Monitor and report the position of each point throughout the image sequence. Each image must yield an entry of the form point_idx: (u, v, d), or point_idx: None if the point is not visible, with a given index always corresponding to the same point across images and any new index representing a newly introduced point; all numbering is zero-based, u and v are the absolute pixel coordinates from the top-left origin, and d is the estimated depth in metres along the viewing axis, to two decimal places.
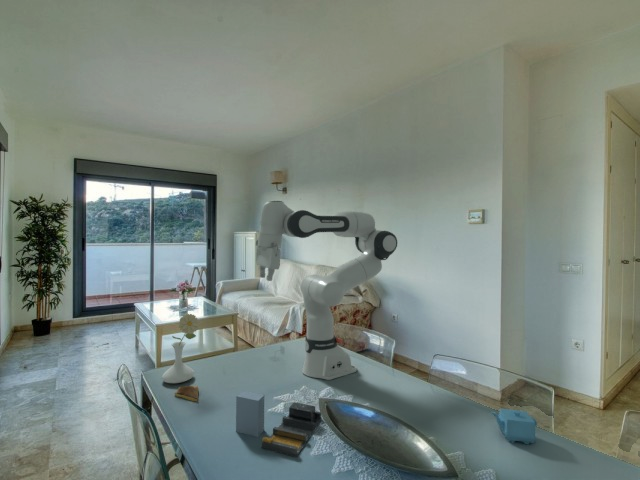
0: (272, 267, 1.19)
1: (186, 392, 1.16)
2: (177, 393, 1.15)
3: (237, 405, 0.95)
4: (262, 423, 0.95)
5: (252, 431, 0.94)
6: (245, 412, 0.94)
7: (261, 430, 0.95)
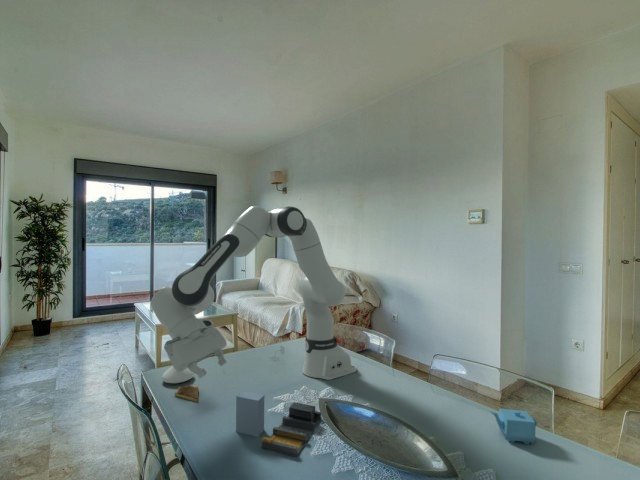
0: (178, 369, 0.92)
1: (186, 392, 1.16)
2: (177, 393, 1.15)
3: (237, 405, 0.95)
4: (262, 423, 0.95)
5: (252, 431, 0.94)
6: (245, 412, 0.94)
7: (261, 430, 0.95)
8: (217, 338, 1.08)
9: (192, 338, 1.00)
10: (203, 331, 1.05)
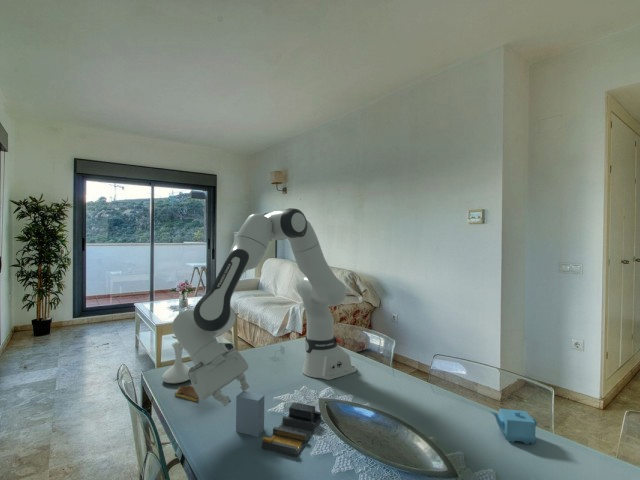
0: (202, 398, 0.89)
1: (186, 392, 1.16)
2: (177, 393, 1.15)
3: (237, 405, 0.95)
4: (262, 423, 0.95)
5: (252, 431, 0.94)
6: (245, 412, 0.94)
7: (261, 430, 0.95)
8: (239, 362, 1.05)
9: (215, 364, 0.97)
10: (225, 355, 1.02)
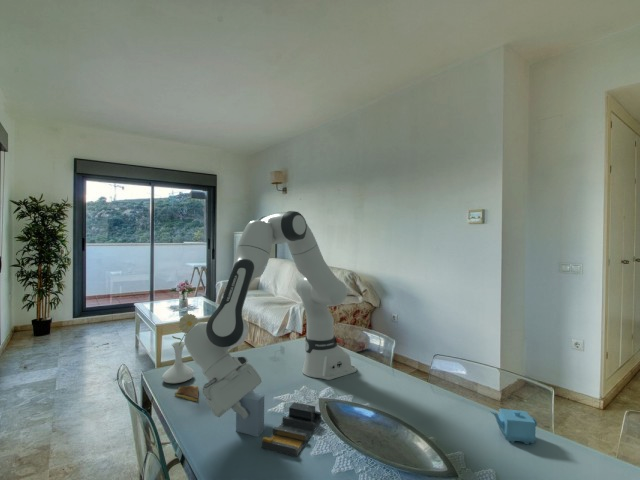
0: (217, 415, 0.88)
1: (186, 392, 1.16)
2: (177, 393, 1.16)
3: None
4: (262, 423, 0.95)
5: (252, 431, 0.94)
6: None
7: (261, 430, 0.95)
8: (252, 376, 1.04)
9: (229, 379, 0.95)
10: (238, 369, 1.01)
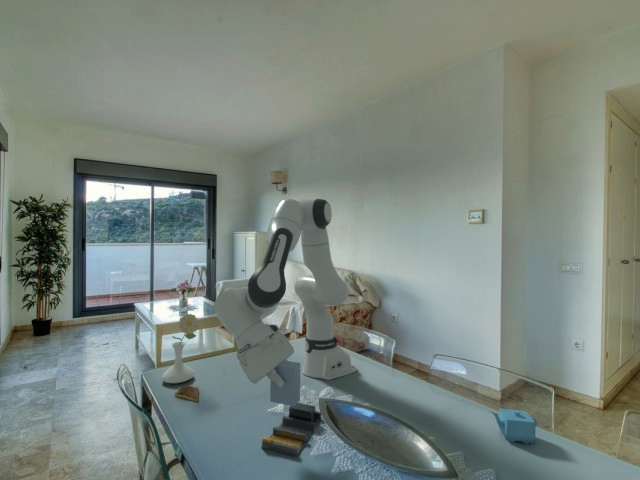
0: (254, 381, 0.81)
1: (186, 392, 1.16)
2: (177, 393, 1.16)
3: None
4: (298, 393, 0.89)
5: (288, 401, 0.87)
6: None
7: (297, 400, 0.88)
8: (285, 345, 0.97)
9: (263, 345, 0.89)
10: (271, 337, 0.94)
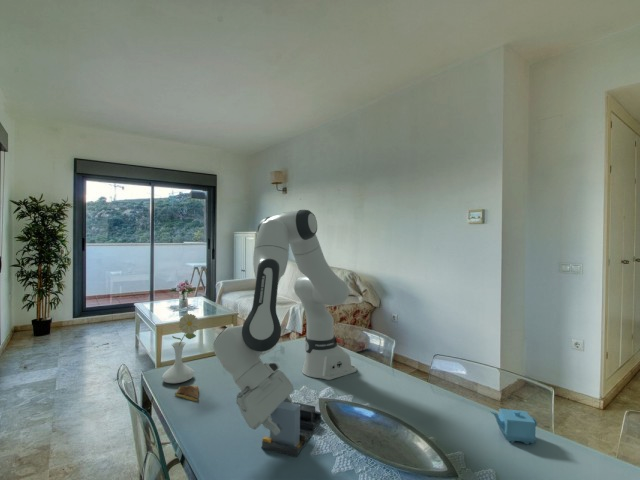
0: (253, 427, 0.81)
1: (187, 392, 1.16)
2: (177, 393, 1.16)
3: (271, 415, 0.89)
4: (298, 435, 0.89)
5: (288, 443, 0.87)
6: (280, 423, 0.88)
7: (297, 442, 0.89)
8: (284, 384, 0.97)
9: (262, 387, 0.89)
10: (271, 377, 0.94)
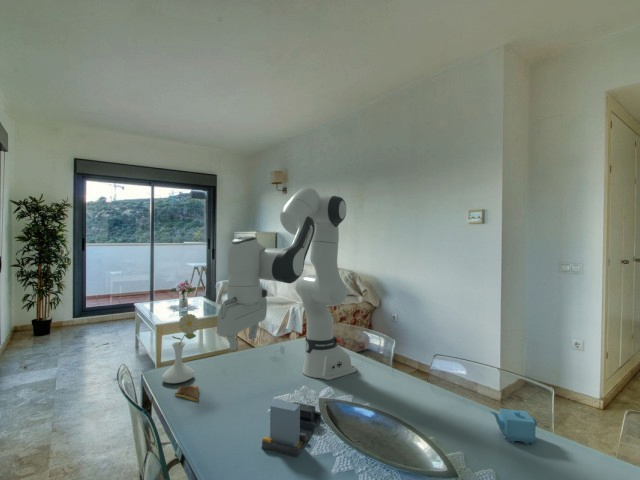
0: (219, 334, 0.86)
1: (187, 392, 1.16)
2: (177, 393, 1.16)
3: (271, 415, 0.89)
4: (298, 435, 0.89)
5: (288, 443, 0.87)
6: (280, 423, 0.88)
7: (297, 442, 0.89)
8: (261, 311, 1.01)
9: (246, 307, 0.92)
10: None
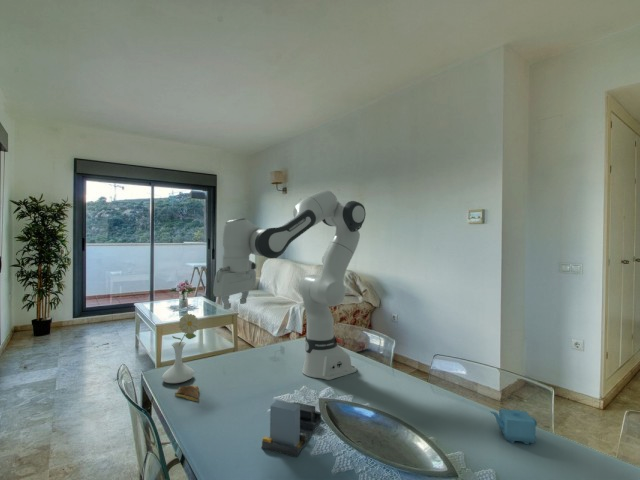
0: (215, 295, 1.06)
1: (187, 392, 1.16)
2: (177, 393, 1.16)
3: (271, 415, 0.89)
4: (298, 435, 0.89)
5: (288, 443, 0.87)
6: (280, 423, 0.88)
7: (297, 442, 0.89)
8: (251, 281, 1.21)
9: (237, 275, 1.12)
10: (246, 271, 1.17)
